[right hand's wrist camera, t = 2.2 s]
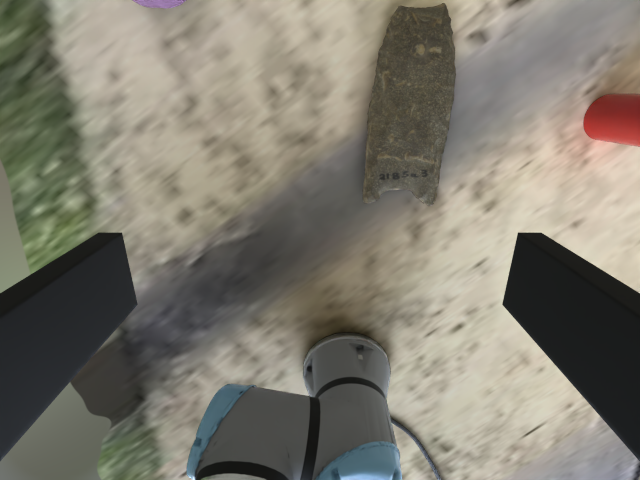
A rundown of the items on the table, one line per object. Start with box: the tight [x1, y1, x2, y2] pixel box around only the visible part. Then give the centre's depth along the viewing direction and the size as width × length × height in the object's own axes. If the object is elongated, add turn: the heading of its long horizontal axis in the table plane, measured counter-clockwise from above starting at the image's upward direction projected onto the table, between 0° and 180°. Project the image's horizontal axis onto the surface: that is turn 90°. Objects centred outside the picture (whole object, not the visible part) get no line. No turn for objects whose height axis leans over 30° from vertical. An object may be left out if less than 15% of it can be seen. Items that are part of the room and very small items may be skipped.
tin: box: [584, 94, 640, 147], centre depth 44 cm, size 6×6×11 cm
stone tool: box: [363, 3, 456, 206], centre depth 47 cm, size 11×3×25 cm
